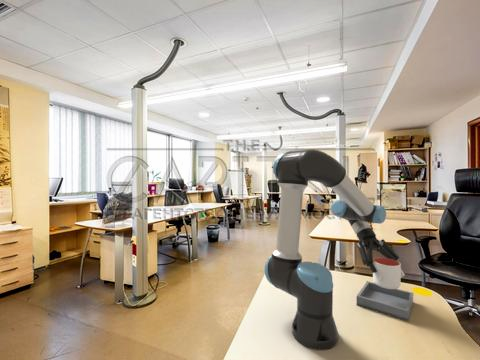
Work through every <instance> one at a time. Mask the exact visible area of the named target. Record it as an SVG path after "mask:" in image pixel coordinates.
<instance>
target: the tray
mask: <svg viewBox="0 0 480 360" xmlns="http://www.w3.org/2000/svg"><path fill="white" fill-rule="evenodd" d="M413 304H414V292H411V291H407V290H403V289H399V288H397V289H386V288H382V287H380V286H378V285H376V284H375V283H374V282H373V281H372V282H371V281H366V282H365V284H364V285H363V286H362V288H361V289H360V290H359V292H358V294H356V306H357V307H361V308H364V309H367V310H371V311H373V312H377V313H380V314H382V315H383V314H384V315H386V316H389V317H392V318H395V319H398V320H402V321H404V322H409V321H410V318H411V313H412V309H413Z"/></svg>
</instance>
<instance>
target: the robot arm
mask: <svg viewBox="0 0 480 360" xmlns="http://www.w3.org/2000/svg"><path fill="white" fill-rule="evenodd" d="M272 173H273V175H274V177H275V178H276V179H277V185H278V186H279V187H280V199H279V210H278V221H277V223H278V224H277V225H278V226H277V234H276V235H277V237H276V248H275V249H274V250H273V251H271V255H270V256H269V257H268V258H267V260H266V261H265V265H264V275H265V278H266V280H267V281H268V282H269V284H270V285H272V286H273V287H275V288H276V289H279V290H281V291H283V292H284V293H286V294H288V295H290V296H292V297H294V298H295V299H296V303H297V304H296V306H297V307H296V312H295V314H294V318H293V320H292V324H291V325H292V326H291V329H292V330H291V333H292V336H293V337H294V339H295V340H296V341H297V342H298V343H299V344H301V345H303V346H305V347H308V348H310V349H314V350H328V349H329V350H330V349H332V348H334V347H335V346H336V345H337V344H338V342H339V330H338V327H337V324H336V321H335V318H334V315H333V310H334V309H333V305H334V302H333V301H334V300H333V298H334V295H333V294H334V293H333V292H334V289H333V288H334V282H333V274H332V272H331V271H330V270H329V268H328V267H326V266H324V265H323V264H320V263H318V262H312V261H303V256H302V255H301V253H300V252H299V248H300V236H301V223H302V222H301V221H302V212H303V211H302V210H303V200H304V199H303V198H304V197H303V196H304V191H305V189H306V188H307V187H308V184H309V182H316V183H320V184H322V186H324V187H326V188H329V189H330V190H332V191H333V192H334V193H335V194H336V195H337V196H338V198H340V199H341V200H340V199H338V200H334V201H333V202H332V203H331V205H330V212H331V214H333V216H335V217H337V218H341V219H343V220H346V221H347V222H348V223H349V225H350V227H351V228H352V230H353V232H354V233H355V235H356V237H357V239H358V240H359V242H358V243H357V244H356V247H357V249H358V250H359V254H360V259H361V261H362V264H363V265H364V266H366V267H369V268H370V270H371V272H372V274H373V273H374V274H375V275H376V277H377V279H378V281H381V280H383V279H384V277H383V276H382V274H381V272H380V270H379V269H378V267H377V265H376V264H375V263H374V264H373V259H374V256H373V251H376V252H377V253H378V252H379V253H380V254H381V255H382V256H384V258H389V259H393V260H396V261H398V260H399V259H400V257H399V255H398V254H397V253H396V252H395V251H394V250H393V249H392V248H391V247H390V246H389V245H388V244H387V242H386V241H385V240H384V238H383V239H380V240H379V239H378V238H377V234H376V233H375V231H374V230H373V228H372V227H371V225H370V224H383V223H384V222H385V221H386V218H387V211H386V208H385V207H384V206H382V205H379V204H378V205H377V204H376V205H375V204H374V203H373V201H371V199H370V198H368V196H367V195H366V194H365V193H364V192H363V191H362V190H361V188H359V187H358V186H357V184H356V183H354V181H353V180H352V179H351V178H350V177H349V176H348V175H347V171H346V168H345V167H344V166H343V164H341V163H340V162H339V161H338V160H336V158H334V157H333V156H331V155H329V154H328V153H326V152H324V151H321V150H318V149H315V148H314V149H304V150H303V149H301V150H289V151H285V152H282V153H280V154H279V155H278V156H277V157H276V158H275V160H274V161H273V165H272ZM405 276H406V274H405V273H404V270H402V269H401V278H403V277H405Z"/></svg>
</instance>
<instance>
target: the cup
mask: <svg viewBox="0 0 480 360" xmlns="http://www.w3.org/2000/svg"><path fill="white" fill-rule="evenodd" d="M374 263H375V264H376V265H377V267H378V269H379V270H380V272H381V274H382V276H383V277H384V279H383V280H381V281H378V279H377V277H376V275H375V274H374V273H373V272H372V282H373V283H375V284H376V285H378V286H380V287H382V288H386V289H399V288H400V287H401V270H402V264H401V262H400V261H398V260H397V261H396V260H393V259H389V258H386V257H375V258H373V264H374Z"/></svg>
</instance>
